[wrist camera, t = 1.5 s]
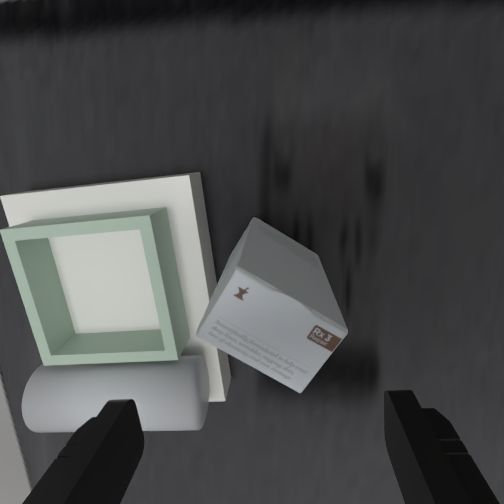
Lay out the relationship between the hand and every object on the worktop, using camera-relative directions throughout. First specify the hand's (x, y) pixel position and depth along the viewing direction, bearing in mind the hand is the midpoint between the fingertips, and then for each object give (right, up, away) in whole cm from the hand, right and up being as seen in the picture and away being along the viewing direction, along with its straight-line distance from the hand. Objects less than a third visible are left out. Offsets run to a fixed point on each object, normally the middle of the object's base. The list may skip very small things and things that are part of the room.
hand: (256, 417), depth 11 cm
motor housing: (-10, +2, +18) cm, 21 cm away
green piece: (-10, +3, +15) cm, 18 cm away
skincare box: (+2, +5, +16) cm, 17 cm away
